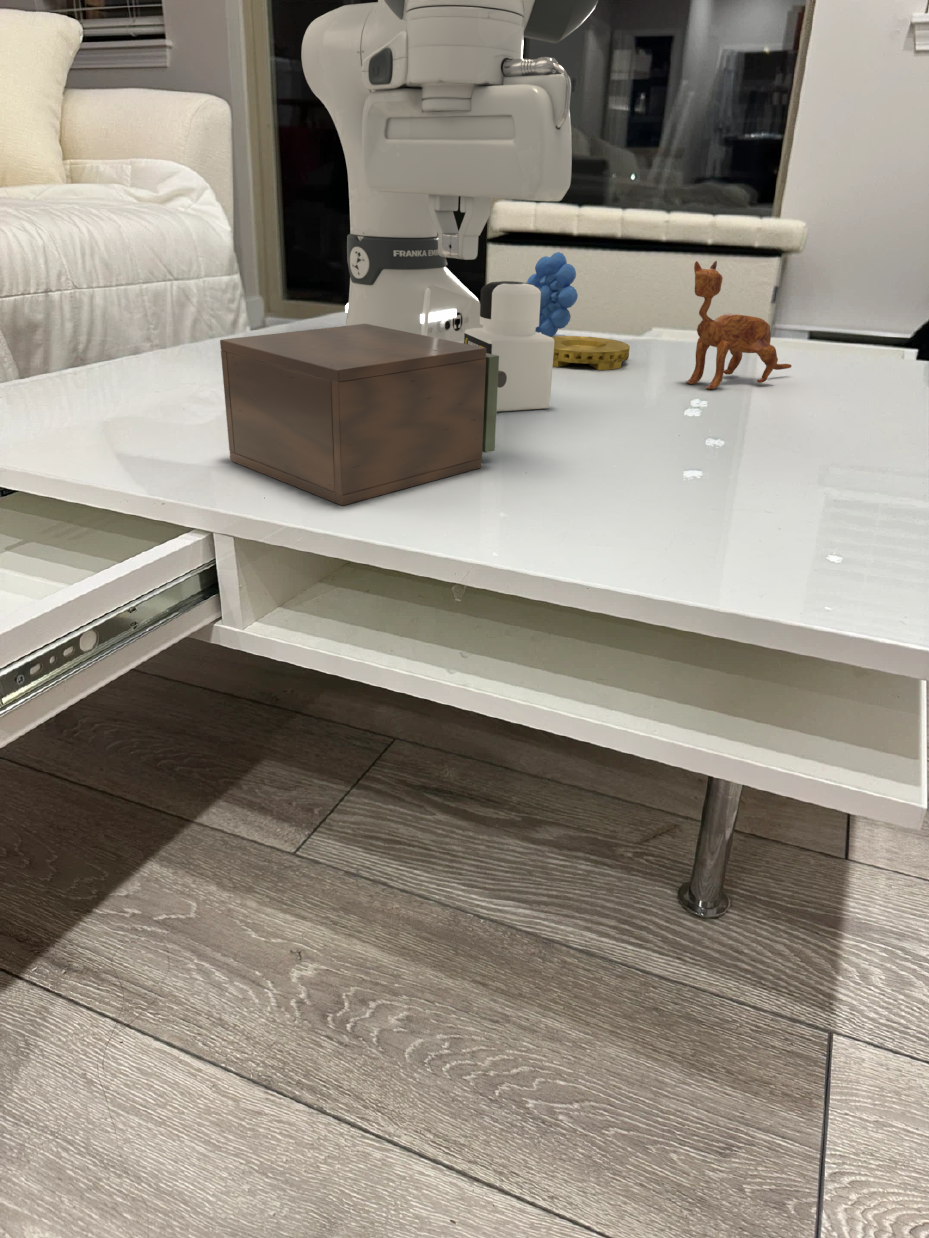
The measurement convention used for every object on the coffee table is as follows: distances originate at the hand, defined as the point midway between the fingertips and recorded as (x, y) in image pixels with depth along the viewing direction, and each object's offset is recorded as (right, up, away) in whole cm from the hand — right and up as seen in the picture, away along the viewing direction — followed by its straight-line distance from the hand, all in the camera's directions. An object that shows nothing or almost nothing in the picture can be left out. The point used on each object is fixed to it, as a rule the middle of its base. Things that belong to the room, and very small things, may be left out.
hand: (457, 258), depth 75 cm
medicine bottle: (+5, -7, +21) cm, 23 cm away
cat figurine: (+34, -1, +35) cm, 49 cm away
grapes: (+14, +12, +60) cm, 62 cm away
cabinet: (-8, -17, 0) cm, 19 cm away
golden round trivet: (+16, +4, +44) cm, 47 cm away
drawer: (-5, -15, +3) cm, 16 cm away
